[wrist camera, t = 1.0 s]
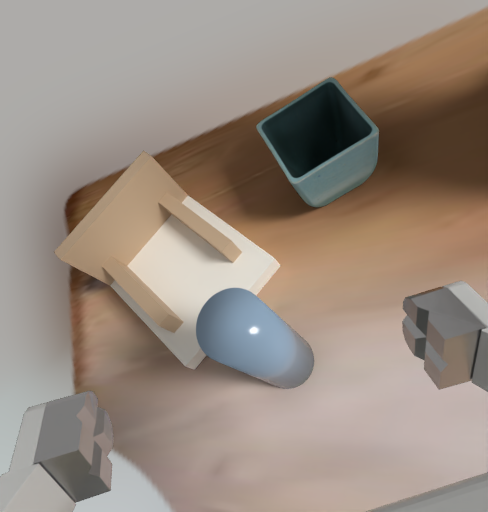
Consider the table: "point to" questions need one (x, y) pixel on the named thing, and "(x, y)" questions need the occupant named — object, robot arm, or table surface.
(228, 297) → the light blue cylinder
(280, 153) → the flower pot
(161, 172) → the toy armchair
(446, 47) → the table surface
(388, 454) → the table surface
